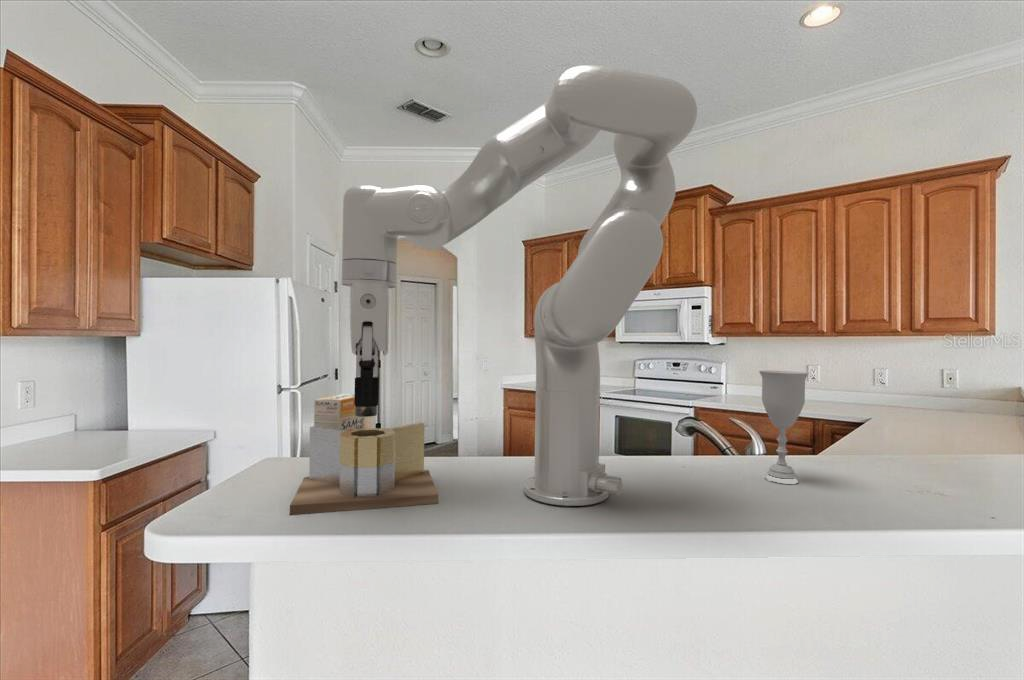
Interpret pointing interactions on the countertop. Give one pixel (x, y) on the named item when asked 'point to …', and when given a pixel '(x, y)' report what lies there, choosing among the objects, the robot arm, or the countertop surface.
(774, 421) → the chalice
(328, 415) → the supplement box
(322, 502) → the walnut board
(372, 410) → the hinge pin
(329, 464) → the hinge
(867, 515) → the countertop surface
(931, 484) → the countertop surface
